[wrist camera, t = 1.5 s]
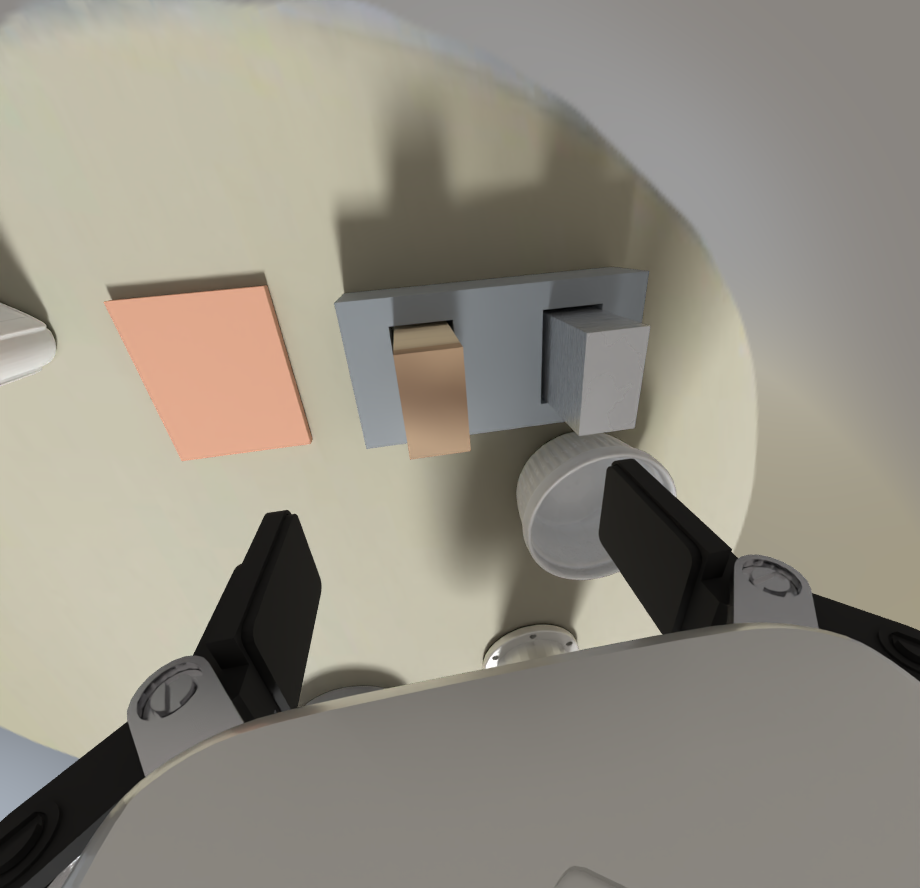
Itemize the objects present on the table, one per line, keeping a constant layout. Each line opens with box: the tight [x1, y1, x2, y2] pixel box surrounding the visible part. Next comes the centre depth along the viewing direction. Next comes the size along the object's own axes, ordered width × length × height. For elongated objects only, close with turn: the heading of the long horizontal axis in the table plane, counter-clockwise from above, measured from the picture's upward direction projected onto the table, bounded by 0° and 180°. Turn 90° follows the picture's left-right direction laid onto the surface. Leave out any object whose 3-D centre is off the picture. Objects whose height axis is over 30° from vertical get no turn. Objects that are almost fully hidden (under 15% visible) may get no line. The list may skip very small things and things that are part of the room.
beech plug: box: [393, 321, 471, 460], centre depth 25 cm, size 6×4×11 cm, turn 5°
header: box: [334, 267, 649, 449], centre depth 28 cm, size 10×20×5 cm, turn 94°
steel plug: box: [541, 305, 650, 436], centre depth 26 cm, size 6×4×11 cm, turn 5°
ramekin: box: [516, 432, 677, 580], centre depth 35 cm, size 13×13×7 cm
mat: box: [104, 285, 312, 461], centre depth 28 cm, size 12×10×1 cm
